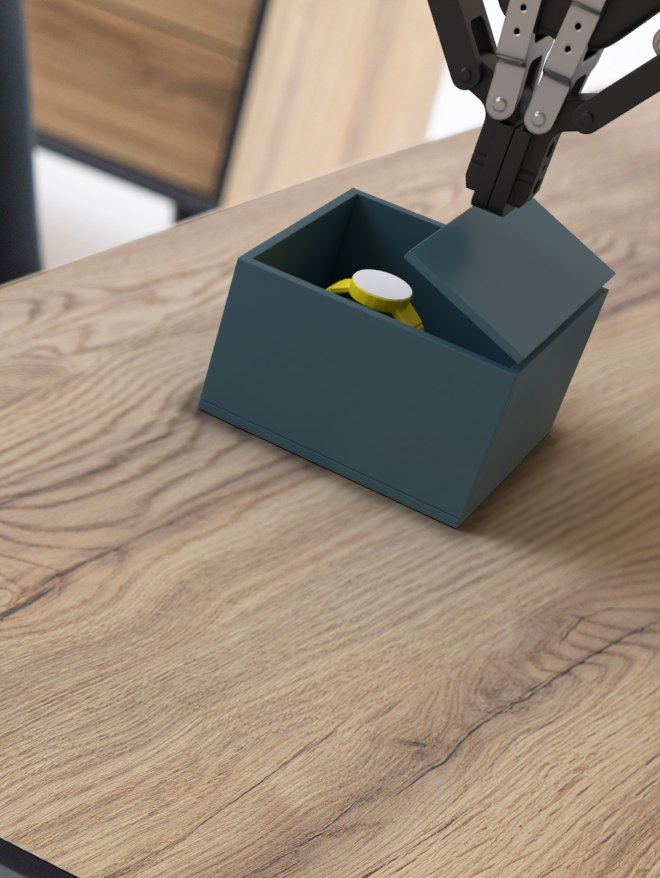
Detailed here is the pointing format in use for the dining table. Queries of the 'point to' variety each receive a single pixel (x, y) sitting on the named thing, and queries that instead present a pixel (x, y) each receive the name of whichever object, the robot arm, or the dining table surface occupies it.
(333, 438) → the carton
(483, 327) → the flap
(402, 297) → the watch
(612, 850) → the dining table surface
